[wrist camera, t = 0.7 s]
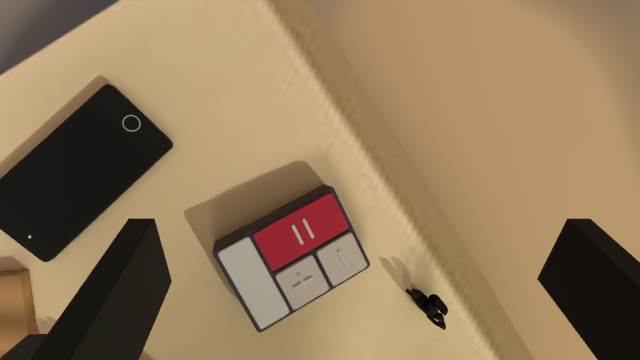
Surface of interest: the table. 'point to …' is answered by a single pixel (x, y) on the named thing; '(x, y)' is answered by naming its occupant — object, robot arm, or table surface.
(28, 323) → the board
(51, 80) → the table surface
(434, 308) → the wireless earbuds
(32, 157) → the cell phone
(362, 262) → the calculator
